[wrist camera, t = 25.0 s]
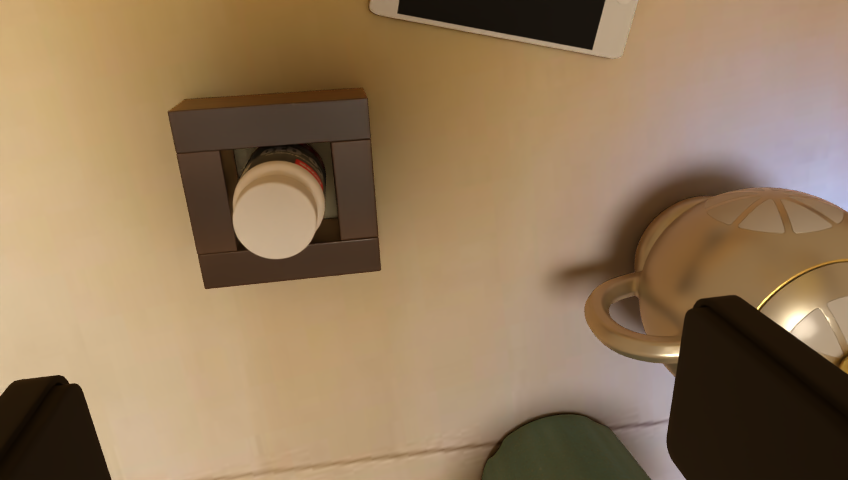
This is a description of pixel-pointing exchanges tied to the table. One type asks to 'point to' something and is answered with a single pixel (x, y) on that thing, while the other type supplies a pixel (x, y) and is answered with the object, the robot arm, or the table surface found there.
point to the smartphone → (527, 20)
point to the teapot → (735, 271)
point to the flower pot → (563, 453)
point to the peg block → (274, 126)
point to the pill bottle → (280, 200)
